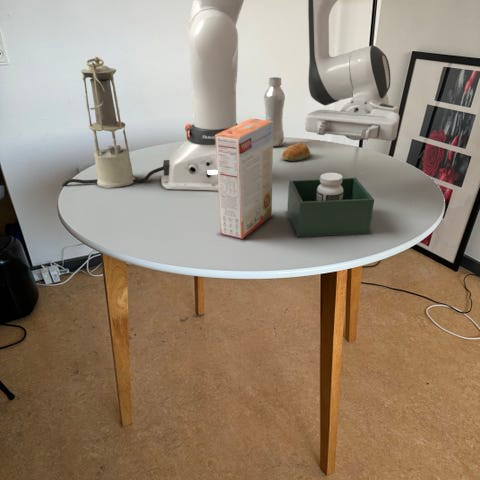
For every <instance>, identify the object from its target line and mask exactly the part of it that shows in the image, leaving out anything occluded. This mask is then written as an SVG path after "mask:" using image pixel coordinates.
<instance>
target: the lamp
mask: <svg viewBox="0 0 480 480" xmlns="http://www.w3.org/2000/svg"><path fill="white" fill-rule="evenodd" d="M104 63H105V61H104V60H103V59H102V58H100V57H98V56H95V57H93V58H90V59H88V60H86V62H85V64H86V65H87V68H83V69H81V70H80V72H81V74H82V81H83V84H84V93H85V103H86V111H87V116H88V122H89V124H88V128H89V130H91V131H93V133H92V134H93V136H94V137H93V138H94V146H95V151H94V152H93V158H94V162H95V169H96V176H97V179H98V181H97V183H96V184H97V186H98V187H102V188H104V189H115V188H119V187H125V186H129V185H132V184H134V183H133V180H136V177H135V175H134V172H133V167H132V162H131V157H130V151H129V149H130V148H129V145H128V139H127V135H126V130H125V127H126V123H125V122H122V120H121V115H120V108H119V103H118V96H117V92H116V91H117V90H116V85H115V82H114V81H115V79H114V75H115V74H116V72H117V69H116V68H112V67H109V66H107V65H104ZM87 78H90V79H89V81H90V86H91V93H92V99H93V104H94V105H93V106H94V107H90V106H89V105H90V104H89V98H88V97H89V96H88V90H87V82H86V80H87ZM113 97H114V98H113ZM91 110H92V111H93V110H94V115H95V122H93V123H92V118H91V117H92V116H91ZM122 129H123V131H122V133H123V138H124V144H125V148H124V147H121V145H120V144H118V145H117V140H116V135H115V133H116V131H118V130H122ZM102 131H104V132H111V135H112V139H113V145H108V146H107V147H106V148H101V149H100V147H99V142H98V134H97V132H102Z"/></svg>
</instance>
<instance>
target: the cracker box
mask: <svg viewBox="0 0 480 480" xmlns="http://www.w3.org/2000/svg"><path fill="white" fill-rule="evenodd" d="M237 124H238V125H236V126H234V127H231V128H229V129H227V130H225V131H222V132H220V133H218V134H216V135H215V144H216V161H217V178H218V190H217V193H218V212H219V213H218V214H219V227H220V235H223V236H227V237H232V238H237V239H241V240H243V239H244V238H246V237H247V236H248V235H250V234H251V233H252V232H253V231H254V230H256V229H257V228H259V226H261V225H262V224H263V223H264V222H265V221H266V220H268V219H269V218H271V217H272V214H273V163H274V161H273V159H274V158H273V155H274V146H273V121H267V120H266V119H265V120H264V119H259V118H249V119H246V120H245V121H242V122H240V123H237Z"/></svg>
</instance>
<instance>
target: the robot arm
mask: <svg viewBox="0 0 480 480" xmlns="http://www.w3.org/2000/svg"><path fill="white" fill-rule="evenodd" d="M244 1H245V0H193V1H192V5H191V10H190V13H189V14H190V15H189V18H188V24H187V27H186V37H187V38H186V39H187V43H188V46H189V60H190V61H189V62H190V81H191V101H192V116H193V118H192V119H193V124H191V123H190V122H189V123H186V124H185V126H184V131H185V132H186V141H185V142H184V143H182V145H180V146H179V147H178V148H177V149H176V150H175V151H174V152H173V153H172V154H171V156H170V157H169V159H163V161H162V163H163V164H162V166H159V167H158V168H154V169H153V170H151V171H149V172H148V173H147V174H146V176H144V177H143V178H139V179H135V180H133V183H132V184H141V183H145V182H146V181H148V180H149V179H150V178H151V177H152V176H153V175H154V174H156V173H159V172H162V171H163V172H162V175H161V181H160V183H161V186H162V187H163V188H164V189H166V190H181V191H182V190H187V191H218V178H217V161H216V144H215V135H216V134H218V133H220V132H222V131H225V130H227V129H229V128H231V127H234V126H236V125H238V124H239V123H238V122H237V82H238V65H239V64H238V63H239V32H238V29H237V23H238V20H239V18H240V17H239V16H240V15H241V12H242V8H243V6H244V5H243V4H244ZM336 2H338V0H308V1H307V3H308V4H307V7H308V9H307V10H308V12H307V14H308V15H307V17H308V18H307V19H308V50H309V51H308V52H309V54H308V56H309V59H308V60H309V61H308V63H309V64H308V78H307V79H308V91H309V94H310V97H311V98H312V99H313V100H314V101H316V102H317V103H319V104H320V105H322V106H329V105H332V104H335V103H338V102H340V101H343V100H347V99H350V98H351V99H350V100H349V101H348V102H346V103H345V104H344V105H343V106H342V107H341V109H340V110H333V109H317V110H313V111H311V112H309V113H307V114H306V116H305V119H304V130H305V131H306V132H308V133H314V134H316V135H317V136H325V135H326V134H327V135H335V136H342V137H343V136H344V137H345V138H347V139H349V140H351V141H361V140H365V141H368V140H369V139H370V140H371V139H372V140H381V141H395V140H396V139H397V134H398V129H399V124H400V114H399V111H400V108H399V107H398V106H395V105H391V104H390V102H389V95H388V93H389V90H390V88H391V68H390V63H389V60H388V57H387V55H386V54H385V52H384V51H382V50H381V49H380V48H379V47H377V46H376V45H373V44H372V45H369V46H365V47H362V48H358V49H355V50H351V51H349V52H345V53H342V54H338V55H335V56H330V15H331V12H332V9H333V7H334V6H335V4H336ZM97 181H98V178H97V179H79V178H68V179H67V180H65V181H63V182H62V184H61V187H66V186H67V185H68V184H70V183H78V184H97Z"/></svg>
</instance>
